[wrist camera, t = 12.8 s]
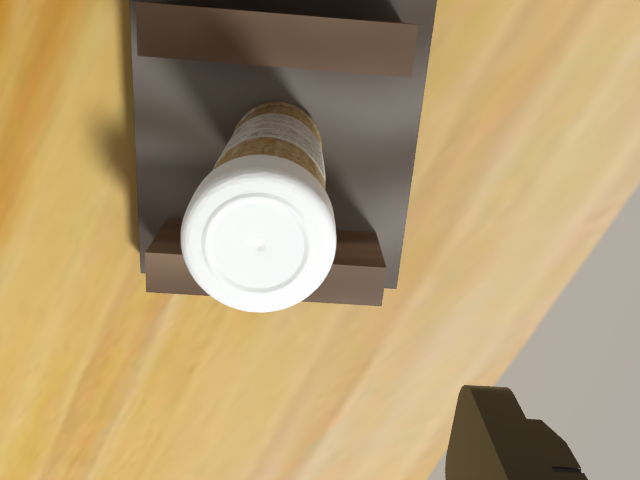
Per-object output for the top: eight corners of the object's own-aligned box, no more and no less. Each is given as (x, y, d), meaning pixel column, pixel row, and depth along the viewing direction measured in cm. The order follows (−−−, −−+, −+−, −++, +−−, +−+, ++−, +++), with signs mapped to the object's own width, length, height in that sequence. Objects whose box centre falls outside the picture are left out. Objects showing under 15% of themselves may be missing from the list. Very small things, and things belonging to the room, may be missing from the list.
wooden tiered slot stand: (135, -77, 27) (11, -137, 16) (437, -50, 27) (526, -89, 16) (147, 261, 33) (65, 392, 22) (392, 277, 34) (434, 411, 22)
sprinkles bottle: (279, 206, 30) (262, 345, 18) (212, 145, 29) (143, 249, 16) (342, 143, 29) (371, 245, 17) (275, 78, 28) (251, 134, 15)
